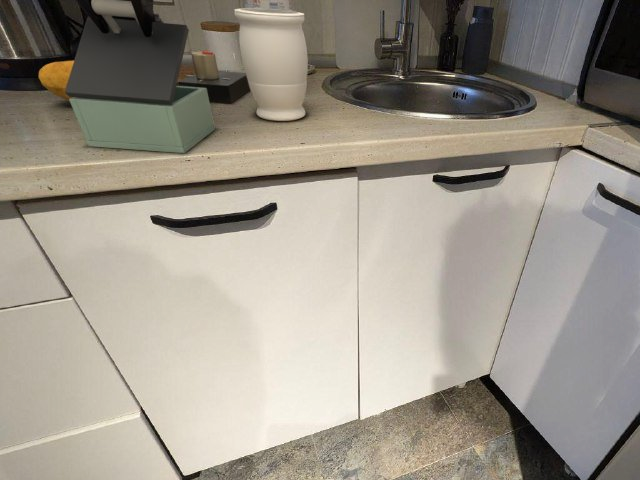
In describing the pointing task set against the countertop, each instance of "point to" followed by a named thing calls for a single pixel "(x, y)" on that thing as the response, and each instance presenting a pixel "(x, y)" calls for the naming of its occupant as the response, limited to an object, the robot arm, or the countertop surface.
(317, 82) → the countertop surface
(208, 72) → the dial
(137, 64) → the box lid
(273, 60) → the jar
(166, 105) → the green box
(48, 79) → the potato
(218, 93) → the block
